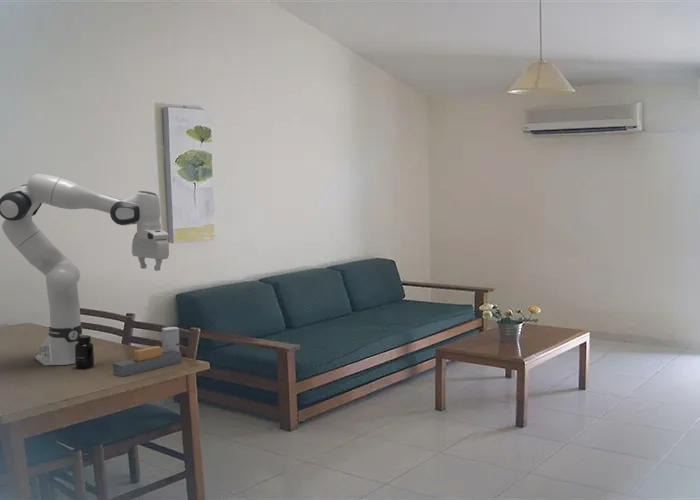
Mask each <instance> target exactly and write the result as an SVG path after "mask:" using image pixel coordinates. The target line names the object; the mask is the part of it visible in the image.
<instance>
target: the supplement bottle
mask: <svg viewBox="0 0 700 500" xmlns="http://www.w3.org/2000/svg"><path fill="white" fill-rule="evenodd" d="M91 341H92V339H91V335H88V334H87V335H86V334H85V335H83V334H82V336H78V337H77V342H78V343H77V344H76V345H75V365H74V366H75V368H76V369H77V370H89V369H92V368H93V367H95V352H94V351H95V349H94V348H95V347H94V344H93V342H91Z"/></svg>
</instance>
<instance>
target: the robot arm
mask: <svg viewBox="0 0 700 500" xmlns="http://www.w3.org/2000/svg"><path fill="white" fill-rule="evenodd" d="M43 204H47V205H49V206H53V207H55V208H60V209H66V210H81V209H88V210H89V209H90V210H95V211H96V210H97V211H99V212H104V213H106V214H109V215H110V218H111V220H112V221H113V222H114V224H116V225H119V226H130V225H136V232H135V234H134V235H133V239H132V242H131V243H132V244H131V254H132V257H138V261H139V265H140V269H142V270H143V269H147V263H146V261H145V260H146V259H153V260H155V265H154V266H153V268H154V269H153V270H154V271H161V266H162V263H163V260H167V259H168V258H169V256H170V250H169V249H170V248H169V247H170V245H169V244H170V243H169V241H168V239H169V236H170V235H169V233H168V232H167V231H165V230H164V229H162V225H161V222H160V219H161V218H160V216H161V203H160V199H159V196H158V194H156V193H155V192H151V191H145V190H139V191H137V192H136V193H134V194H133V195H131V196H129V197H127V198H124V199H119V198H115V197H112V196H108V195H105V194H101V193H98V192H95V191H93V190H91V189H89V188H86V187H84V186H82V185H80V184H79V183H76V182H74V181H71V180H69V179H66V178H62V177H60V176H56V175H51V174H45V173H35V174H33V175H32V176H30V178H29V179H28V181H27V183H26V184H22V185H19V186H16V187H14V188H12V189H11V190H10V191H8V192H7V193H5V194H3V195H2V196H1V197H0V216H1V217H2V218H3V219H4V220H3V222H2V225H1V227H2V231H3V233H4V234H5V237H6V238H7V239H8V240H9V242H10V243H11V244H12V245H13V246H14V248H15V249H16V250H17V251H18V252H19V253H20V254H21V255H22V256H23V257H24V258H25V260H26V261H28V263H29V264H31V266H33V267H34V268H36V269H37V270H38V271H39V272H40V273H42V274H43V275H44V276H45V283H46V292H47V293H46V294H47V299H48V305H49V319H50V320H49V321H50V326H49V327H48V328H49V329H48V336H47V338H46V339H45V340H44V341H43V342H41V345H40V346H39V351H40V354H39V353H38V354H37V355H35V357H34V359H36V360H37V361H38V362H39V363H41V364H42V365H43V366H64V365H65V366H66V365H67V366H68V365H72V364H75V345H76V344H77V343H78V342H77V337H78V336H82V335H83V325H82V323H81V307H80V306H81V304H80V298H79V292H78V282H79V281H80V278H81V273H80V269H79V268H78V266H77V265H76V264H75V263H74V262H72V260H71V259H69V257H68V256H66V255H65V254H64V253H63V252H62V251H61V250H60V249H59V248H57V246H56V245H54V244H53V242H52V241H51V240H50V238H48V237H47V236H46V235H45V234H44V232H42V230H41V229H40V228H39V227H38V226H37V225H36V224H35V223H34V221H33V216H35V215H36V214H37V213H38V211H39V210H40V208H41V206H42V205H43Z"/></svg>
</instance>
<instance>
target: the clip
mask: <svg viewBox="0 0 700 500" xmlns="http://www.w3.org/2000/svg"><path fill="white" fill-rule="evenodd" d="M160 356H162V346H160V345H154V346H149V347H145V348H141V349H135V350H134V351H133V359H134V360H135V361H137V362H138V361H142V360H146V359H150V358H155V357H160Z"/></svg>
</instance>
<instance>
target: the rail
mask: <svg viewBox="0 0 700 500" xmlns="http://www.w3.org/2000/svg"><path fill="white" fill-rule="evenodd" d="M182 363H183V361H182V352H180V351H179V352H177V351H173V350H171V351H167V352H162V356H160V357H155V358H150V359H146V360H142V361H138V362H137V361H135V360H134V358H131V359H126V360H122V361H117V362H113V363H112V374H113V375H115V376H118V377H121V378H122V377H126V376H132V375H135V374H139V373H144V372H148V371H152V370H156V369H161V368H164V367H165V366H166V367H169V365H170V366H173V365H177V364H182ZM166 367H165V368H166Z"/></svg>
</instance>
